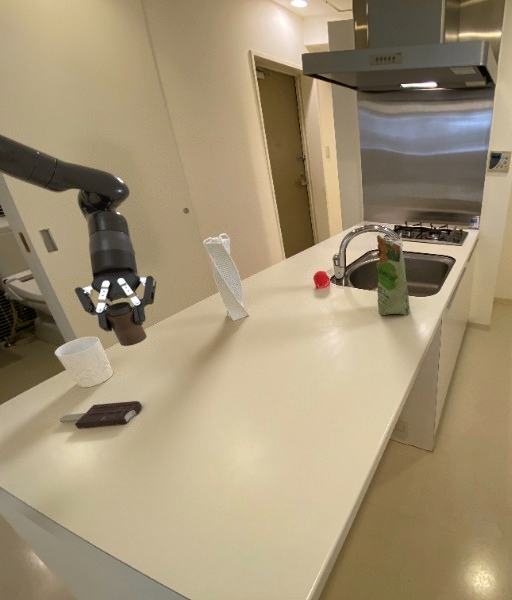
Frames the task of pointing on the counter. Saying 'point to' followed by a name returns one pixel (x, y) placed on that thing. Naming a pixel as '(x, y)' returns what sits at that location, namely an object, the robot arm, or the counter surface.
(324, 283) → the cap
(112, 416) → the ice cream bar
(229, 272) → the skyscraper
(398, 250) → the pouch
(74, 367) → the white cup
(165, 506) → the counter surface
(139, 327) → the pepper mill
